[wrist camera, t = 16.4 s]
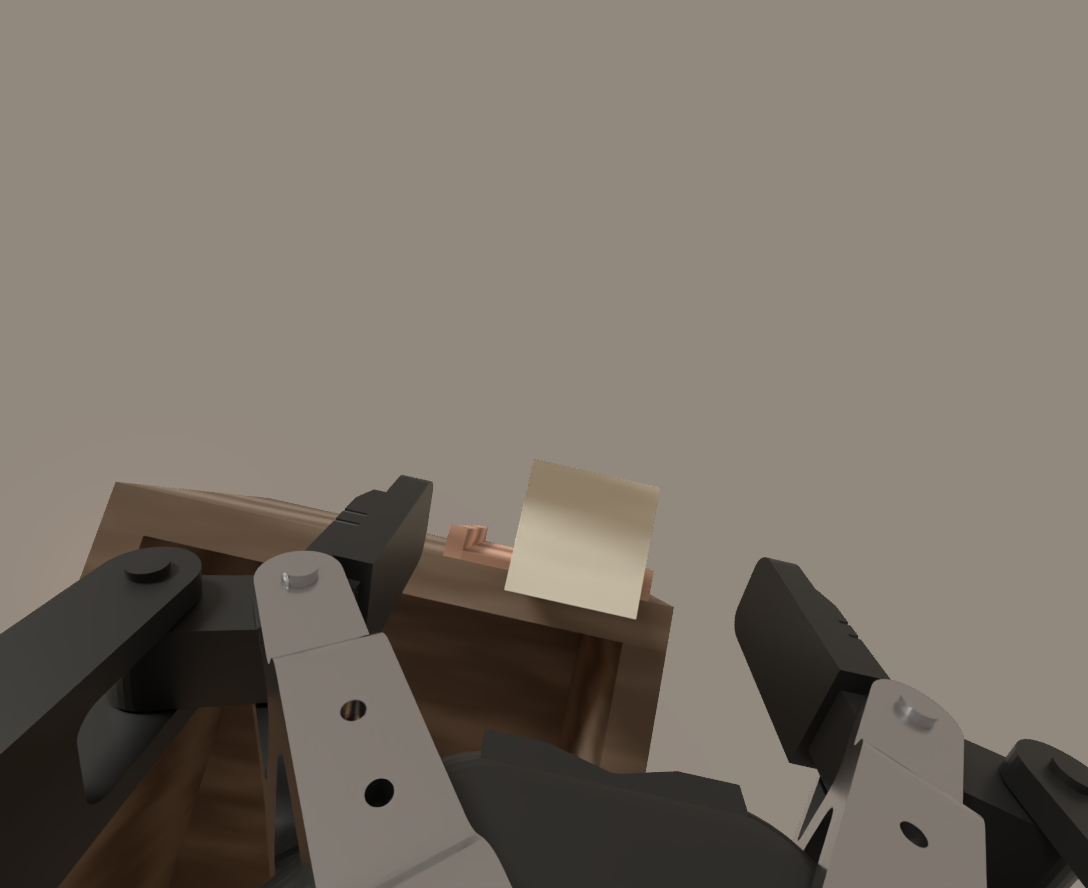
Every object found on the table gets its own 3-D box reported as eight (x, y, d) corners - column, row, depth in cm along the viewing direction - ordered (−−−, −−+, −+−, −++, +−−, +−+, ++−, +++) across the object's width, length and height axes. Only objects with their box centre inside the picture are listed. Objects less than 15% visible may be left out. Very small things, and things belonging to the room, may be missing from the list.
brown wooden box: (515, 1535, 17) (678, 576, 23) (-216, 1380, 17) (126, 452, 23) (518, 1089, 31) (620, 557, 37) (111, 1001, 31) (275, 479, 37)
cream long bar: (635, 619, 13) (660, 487, 13) (504, 589, 13) (534, 458, 13) (562, 558, 37) (572, 511, 37) (515, 548, 37) (526, 501, 37)
